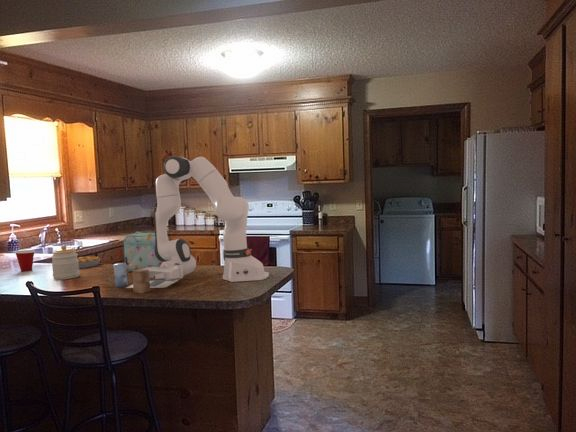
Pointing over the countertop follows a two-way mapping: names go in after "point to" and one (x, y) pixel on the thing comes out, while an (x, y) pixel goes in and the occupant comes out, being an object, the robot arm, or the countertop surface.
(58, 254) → the jar
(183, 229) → the countertop surface
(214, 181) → the robot arm
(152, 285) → the letter board
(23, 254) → the plastic cup
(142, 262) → the lunch box
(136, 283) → the walnut block
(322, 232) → the countertop surface
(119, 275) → the canister
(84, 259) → the pie
